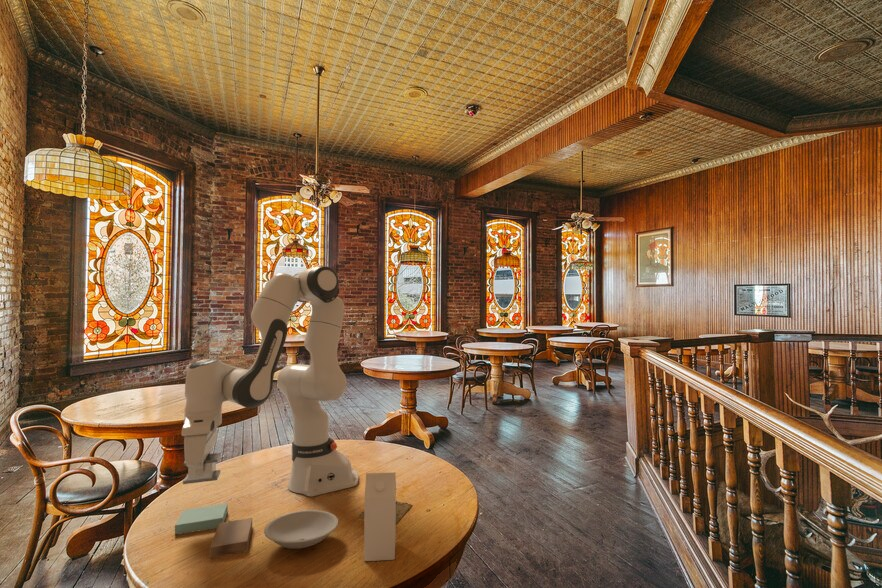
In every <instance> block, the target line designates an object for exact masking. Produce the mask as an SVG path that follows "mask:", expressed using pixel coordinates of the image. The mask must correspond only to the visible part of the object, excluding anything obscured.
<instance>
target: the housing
mask: <svg viewBox="0 0 882 588" xmlns="http://www.w3.org/2000/svg"><path fill="white" fill-rule="evenodd" d="M221 456H222V454H221V452H215V453H210V454H208V455H207V457H206V459H205V460H204V463H203V466H204V473H203V475H202V476H195V468H194V466H193V467H187V466H186V463H185V460H184V462H183V465H182V466H183V467H185V466H186V467H187V468H188V469H187V470H188V471H187V472H188V473H187V474H186V476H185V477H184V478H183V481H182V485H188V484H196V483H205V482H212V481H213V482H214V481H218V479H219V478H220V475H221V469H218V470H217V463H218V462H219V460H220V458H221Z"/></svg>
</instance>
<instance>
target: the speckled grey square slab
mask: <svg viewBox="0 0 882 588" xmlns="http://www.w3.org/2000/svg"><path fill="white" fill-rule="evenodd" d="M413 506H414V505H413V504H412V503H408V502H401V501H397V500H396V525H398V523H399V522H401V520H402V519H403V518H404V516H405V515H406V514H407V513H408V512H409V511H410V509H412V508H413ZM357 518H358V519H362V520H364V510H363V511H362V512H361V513H360V514H359V515H358V517H357Z"/></svg>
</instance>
